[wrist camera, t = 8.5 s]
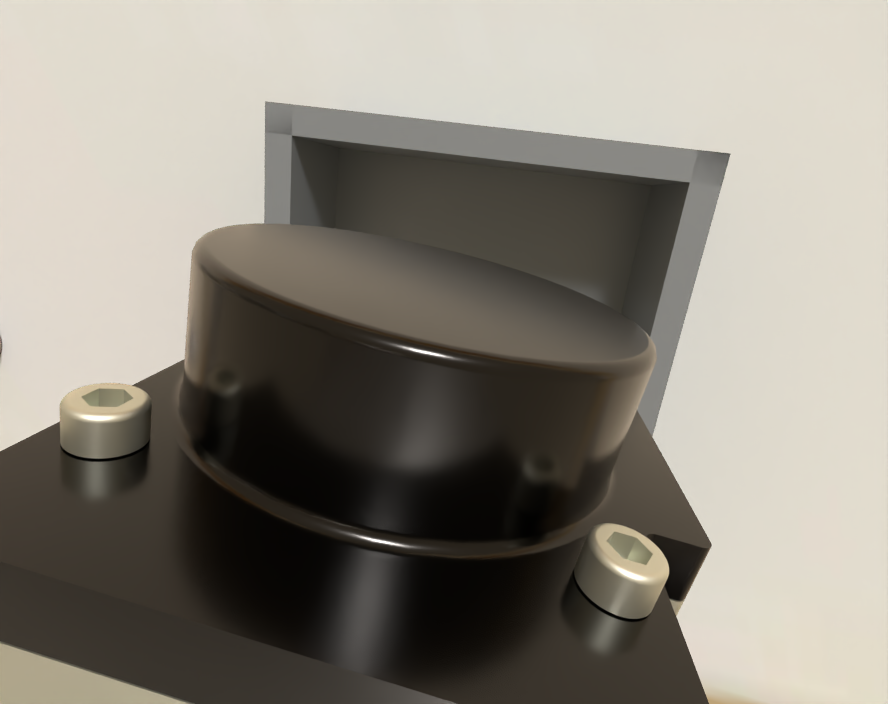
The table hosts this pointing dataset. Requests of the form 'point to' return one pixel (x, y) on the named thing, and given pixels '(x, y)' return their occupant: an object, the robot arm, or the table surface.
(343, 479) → the pneumatic valve
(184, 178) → the table surface
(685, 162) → the tray
